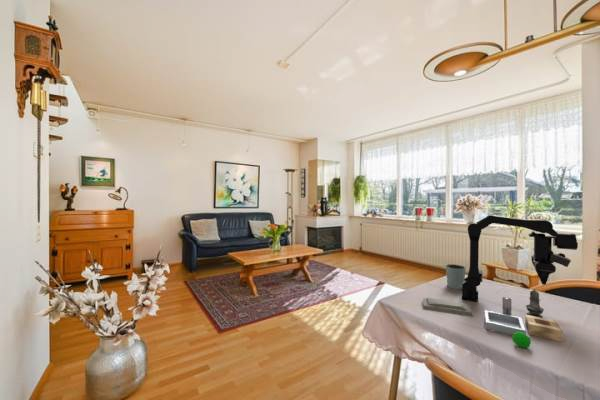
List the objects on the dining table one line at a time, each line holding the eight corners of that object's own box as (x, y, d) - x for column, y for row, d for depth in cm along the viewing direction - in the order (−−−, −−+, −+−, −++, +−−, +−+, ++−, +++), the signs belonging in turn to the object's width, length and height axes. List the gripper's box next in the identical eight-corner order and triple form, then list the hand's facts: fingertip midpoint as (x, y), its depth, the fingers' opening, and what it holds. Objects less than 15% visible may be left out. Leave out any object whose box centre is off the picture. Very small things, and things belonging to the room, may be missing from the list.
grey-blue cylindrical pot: (450, 289, 141) (449, 268, 141) (442, 283, 151) (442, 263, 151) (469, 290, 139) (469, 269, 139) (460, 283, 149) (460, 264, 149)
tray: (485, 329, 99) (485, 321, 99) (484, 316, 109) (484, 310, 109) (525, 338, 92) (525, 330, 92) (521, 324, 102) (521, 317, 102)
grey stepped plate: (473, 317, 110) (473, 310, 110) (423, 310, 118) (423, 302, 118) (468, 307, 119) (468, 300, 119) (422, 301, 127) (422, 294, 127)
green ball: (521, 342, 90) (521, 329, 90) (535, 350, 85) (535, 336, 85) (508, 342, 90) (508, 329, 90) (521, 351, 85) (521, 337, 85)
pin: (503, 316, 109) (502, 298, 109) (502, 313, 111) (502, 296, 111) (511, 318, 107) (511, 300, 107) (511, 315, 110) (510, 297, 109)
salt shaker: (547, 319, 106) (547, 291, 105) (531, 318, 107) (531, 291, 107) (537, 313, 111) (537, 286, 111) (522, 312, 113) (522, 286, 112)
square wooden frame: (529, 334, 95) (529, 323, 95) (525, 324, 102) (525, 314, 102) (562, 341, 90) (562, 331, 90) (555, 330, 97) (555, 320, 97)
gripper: (573, 253, 98) (573, 292, 99) (564, 245, 113) (564, 279, 113) (535, 250, 106) (535, 286, 106) (531, 243, 120) (531, 274, 120)
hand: (542, 281), depth 111 cm, fingers open, 9 cm apart
